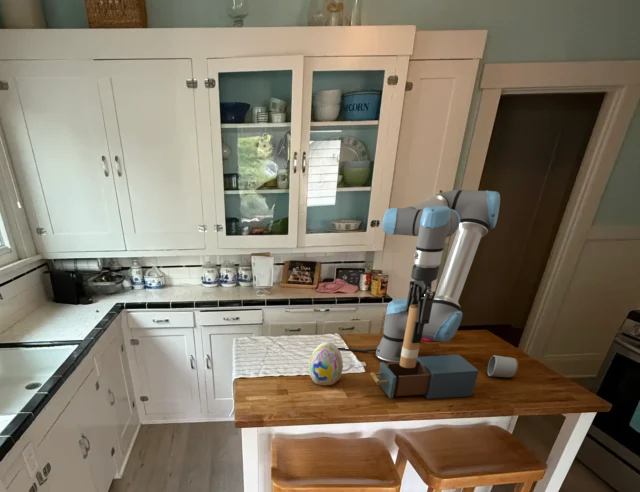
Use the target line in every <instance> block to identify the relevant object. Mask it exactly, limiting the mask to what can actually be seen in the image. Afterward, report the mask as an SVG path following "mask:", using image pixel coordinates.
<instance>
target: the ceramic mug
mask: <svg viewBox="0 0 640 492" xmlns="http://www.w3.org/2000/svg"><path fill="white" fill-rule="evenodd" d="M518 369H519V361H518V359H517V358H515V357H514V358H513V357H510V356H502V355H495V354H494V355H492V356H491V357H490V359H489V361H488V365H487V375H488V376H489V377H495V378H512V377H513V378H514V377H515V376H516V374H517V371H518Z"/></svg>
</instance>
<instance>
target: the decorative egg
mask: <svg viewBox="0 0 640 492" xmlns="http://www.w3.org/2000/svg"><path fill="white" fill-rule="evenodd" d="M337 347H338V346H336V345H335V344H334V343H332V342H331V341H324V342H322V343H321V344H319V345H318V346H316V347H315V349H313V352H312V353H311V355H310V358H309V362H308V372H309V377H310V378H311V380H312V381H313V382H314V383H315V384H316V385H319V386H323V387H324V386H325V387H326V386H332V385H334V384H336V383H337V382H338V381H339V380H340V378H341V376H342V374H343V370H344V361H343V357H342V354H341V350H339V349H338V348H337Z"/></svg>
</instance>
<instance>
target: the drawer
mask: <svg viewBox="0 0 640 492" xmlns="http://www.w3.org/2000/svg"><path fill="white" fill-rule="evenodd" d="M369 376H370V377H371V379H372V381H374V382H375V384H376V385H379V386H380V387H381V389H382V390H383V391H384V393H385V394H386V395H387V397H388V398H389V399H394V396H395V397H402V396H403V397H404V396H417V395H418V396H419V395H424V394H428V389H429V385H430V381H431V376H432V374H431V373H430V372H429V371H428V370H427V369H426V368H425V367H424V366H423V365H422V364H421V363H420V362H419V361H416V366H415V367H414V368H404V367H402V366H400V362H398V363H387V364H386V362H383V361H380V364H379V371H378V372H374V371H370V372H369Z"/></svg>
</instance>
